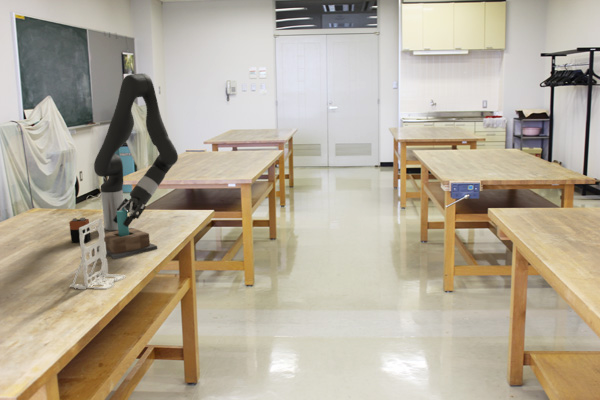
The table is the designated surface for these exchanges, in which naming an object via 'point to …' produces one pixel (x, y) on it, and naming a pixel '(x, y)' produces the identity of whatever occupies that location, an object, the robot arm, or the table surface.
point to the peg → (120, 220)
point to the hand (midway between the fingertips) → (119, 223)
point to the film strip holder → (100, 254)
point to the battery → (74, 230)
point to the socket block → (127, 243)
